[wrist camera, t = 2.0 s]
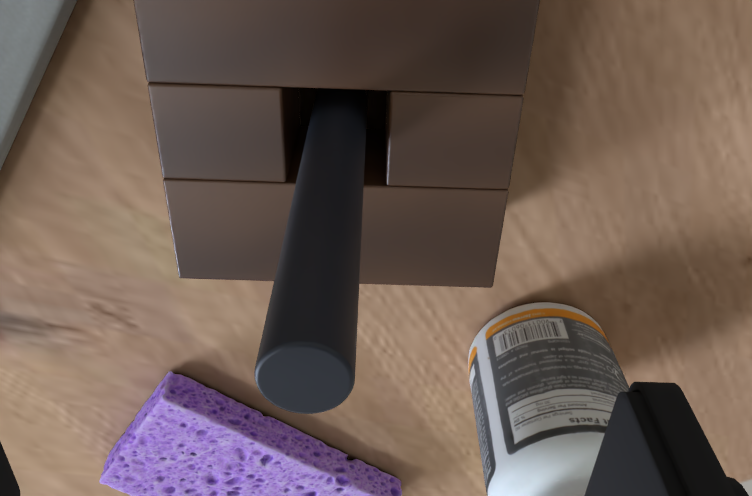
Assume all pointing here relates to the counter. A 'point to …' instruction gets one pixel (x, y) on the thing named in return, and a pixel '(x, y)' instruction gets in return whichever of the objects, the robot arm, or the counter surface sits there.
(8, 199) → the counter surface
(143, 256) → the counter surface
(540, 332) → the pill bottle
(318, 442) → the sponge
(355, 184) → the peg
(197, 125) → the dock
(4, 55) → the grey-rimmed serving tray
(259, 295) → the counter surface
